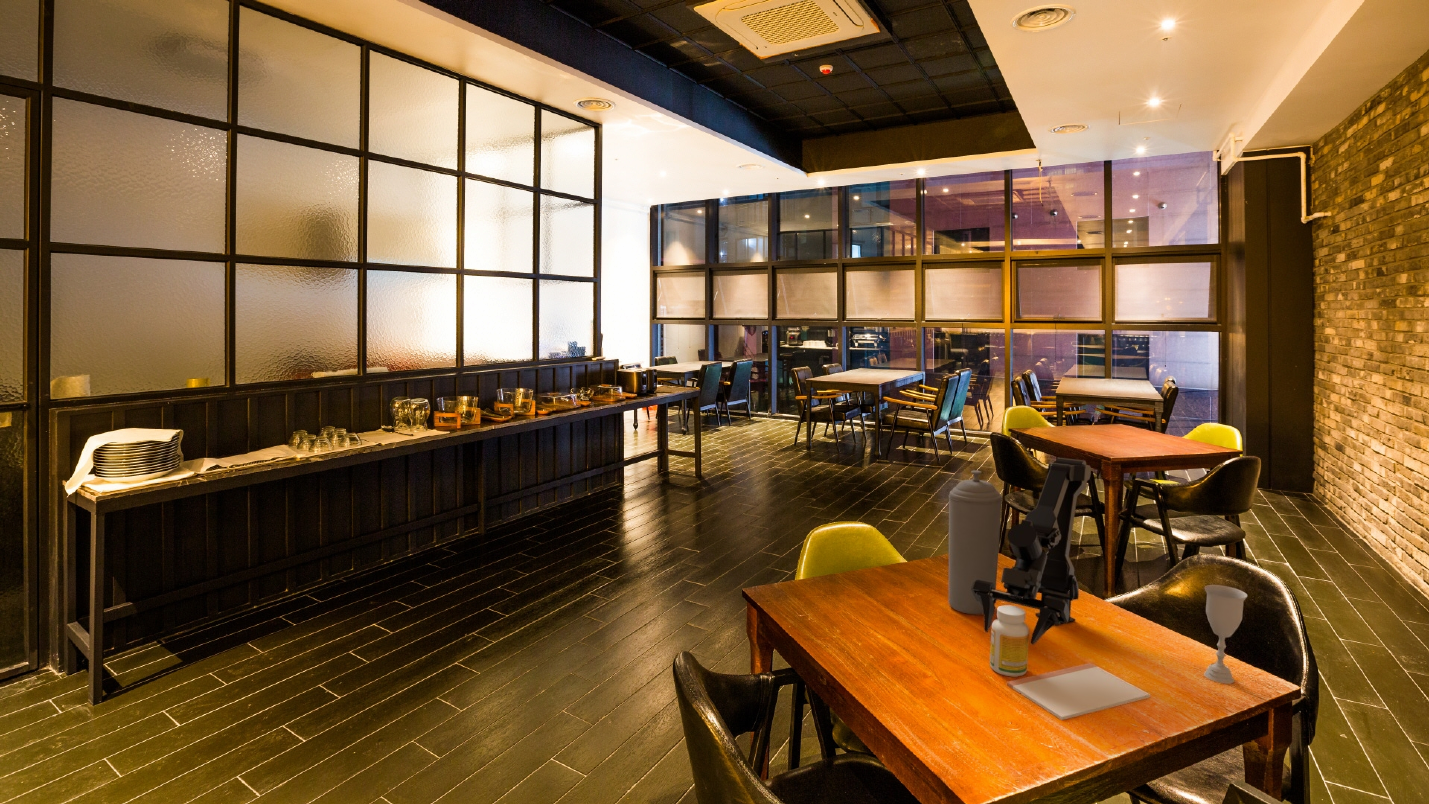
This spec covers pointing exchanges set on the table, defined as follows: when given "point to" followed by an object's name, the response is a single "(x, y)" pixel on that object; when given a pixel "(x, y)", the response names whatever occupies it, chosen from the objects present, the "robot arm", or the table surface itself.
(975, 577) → the canister
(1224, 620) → the chalice
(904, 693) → the table surface
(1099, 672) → the notepad
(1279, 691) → the table surface
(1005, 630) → the supplement bottle
